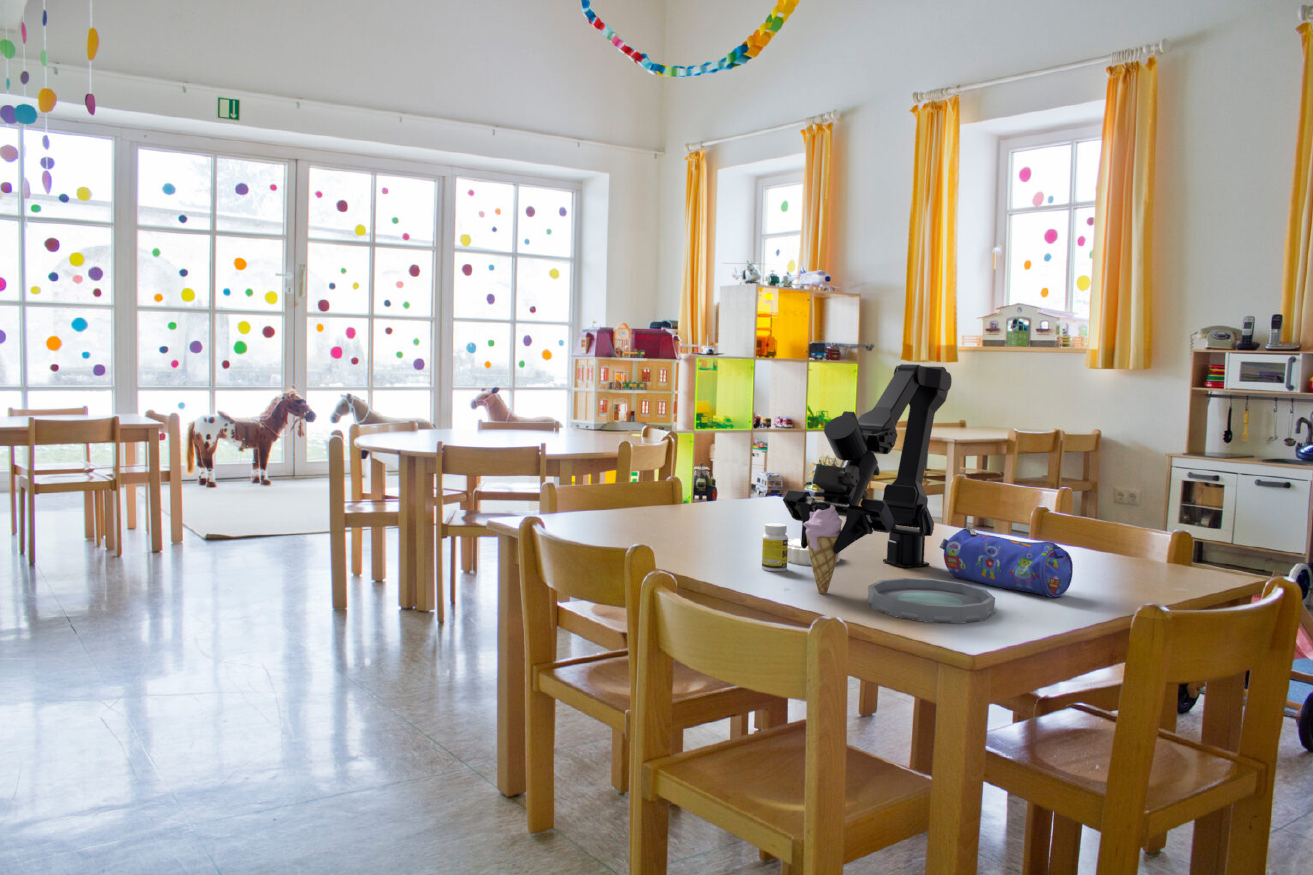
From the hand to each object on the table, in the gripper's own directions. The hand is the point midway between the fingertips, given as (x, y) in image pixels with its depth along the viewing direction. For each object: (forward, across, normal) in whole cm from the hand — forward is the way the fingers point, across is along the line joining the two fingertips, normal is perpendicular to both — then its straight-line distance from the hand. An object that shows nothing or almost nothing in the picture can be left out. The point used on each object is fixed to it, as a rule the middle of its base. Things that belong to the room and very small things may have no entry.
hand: (818, 549), depth 160 cm
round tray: (+2, +17, +9) cm, 20 cm away
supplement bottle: (-3, -16, +14) cm, 22 cm away
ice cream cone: (+4, 0, +6) cm, 8 cm away
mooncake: (-12, -16, +24) cm, 31 cm away
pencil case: (-15, +21, +26) cm, 37 cm away
